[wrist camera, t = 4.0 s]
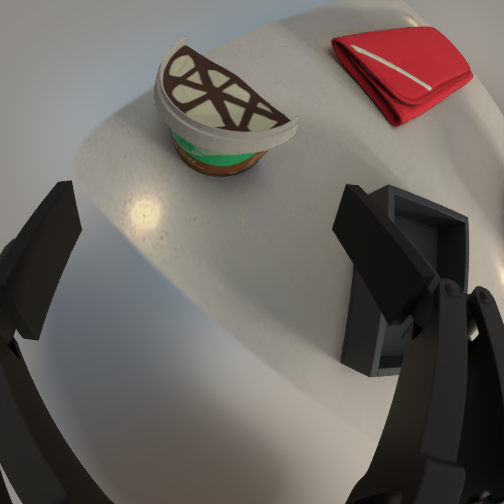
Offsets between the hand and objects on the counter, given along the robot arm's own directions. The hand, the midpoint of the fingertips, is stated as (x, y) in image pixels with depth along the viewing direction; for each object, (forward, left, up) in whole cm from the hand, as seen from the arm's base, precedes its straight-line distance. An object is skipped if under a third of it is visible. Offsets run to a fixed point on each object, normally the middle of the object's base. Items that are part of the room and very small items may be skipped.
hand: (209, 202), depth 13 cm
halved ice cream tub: (-2, +9, -13) cm, 16 cm away
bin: (+22, -1, -13) cm, 26 cm away
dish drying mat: (+31, +39, -13) cm, 51 cm away
